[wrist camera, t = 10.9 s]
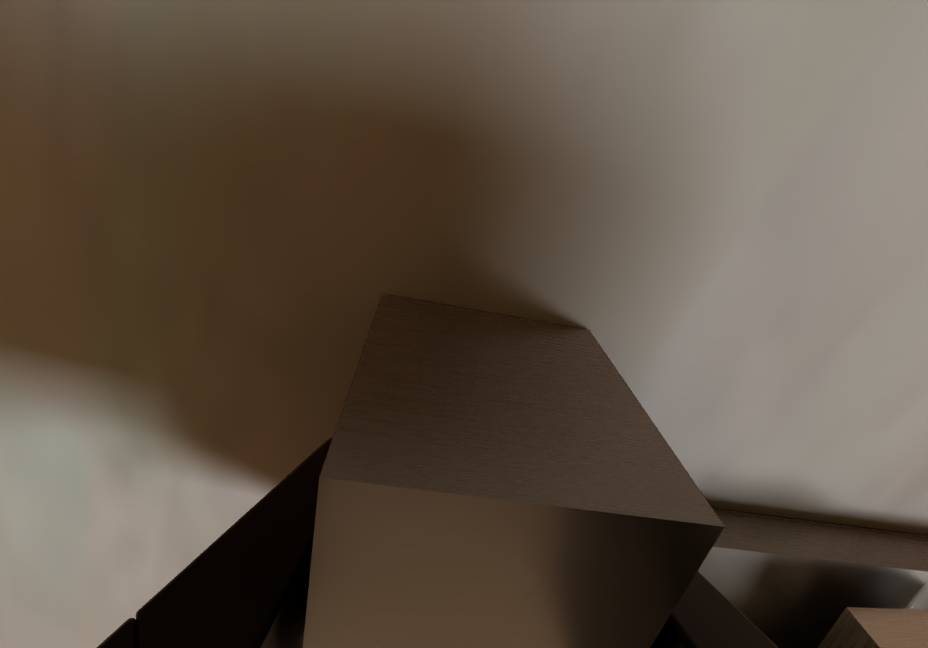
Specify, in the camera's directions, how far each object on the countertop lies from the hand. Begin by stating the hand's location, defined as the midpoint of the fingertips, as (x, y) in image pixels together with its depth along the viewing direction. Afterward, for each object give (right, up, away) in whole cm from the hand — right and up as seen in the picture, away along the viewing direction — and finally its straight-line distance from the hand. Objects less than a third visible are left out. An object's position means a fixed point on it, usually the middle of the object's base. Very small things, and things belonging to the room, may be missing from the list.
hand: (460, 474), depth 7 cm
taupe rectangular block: (0, 0, +1) cm, 1 cm away
